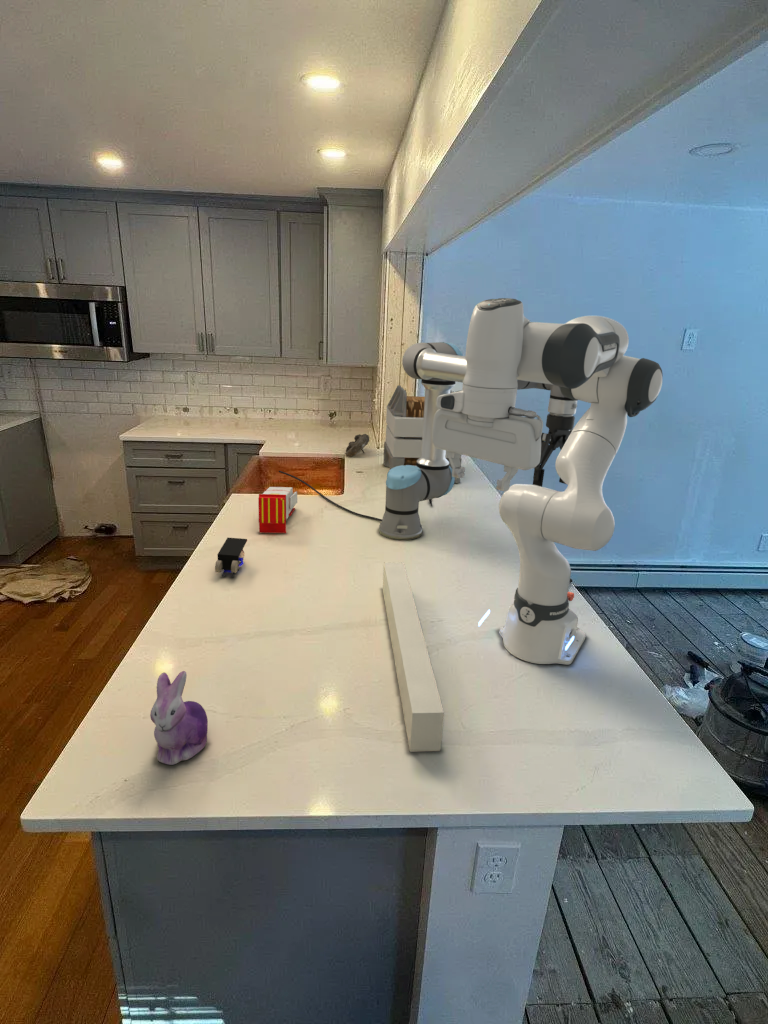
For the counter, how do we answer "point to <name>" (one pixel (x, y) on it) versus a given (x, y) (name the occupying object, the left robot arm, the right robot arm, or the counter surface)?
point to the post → (412, 663)
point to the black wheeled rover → (230, 556)
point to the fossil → (357, 445)
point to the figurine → (177, 722)
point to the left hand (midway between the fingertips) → (550, 486)
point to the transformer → (405, 430)
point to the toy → (276, 509)
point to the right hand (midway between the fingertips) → (479, 483)
